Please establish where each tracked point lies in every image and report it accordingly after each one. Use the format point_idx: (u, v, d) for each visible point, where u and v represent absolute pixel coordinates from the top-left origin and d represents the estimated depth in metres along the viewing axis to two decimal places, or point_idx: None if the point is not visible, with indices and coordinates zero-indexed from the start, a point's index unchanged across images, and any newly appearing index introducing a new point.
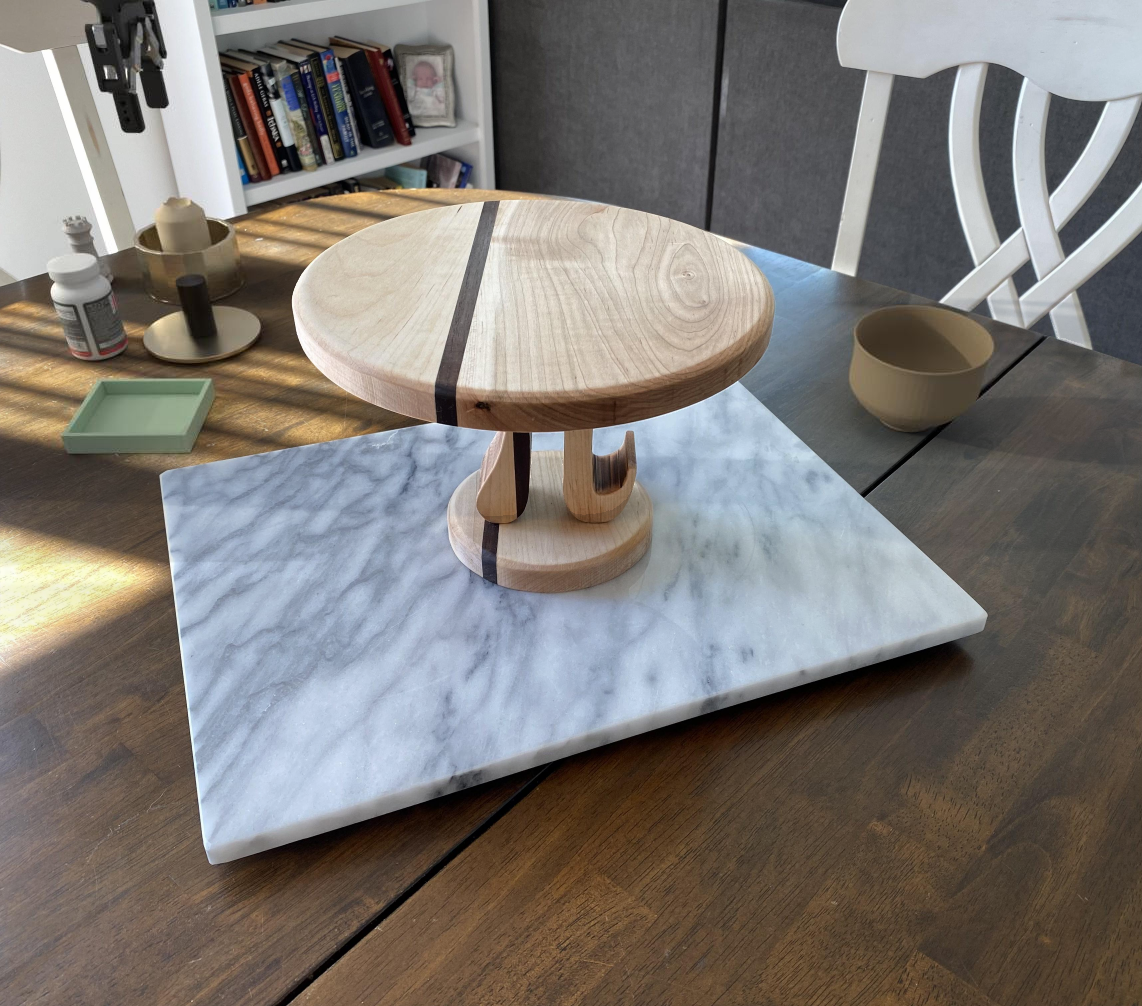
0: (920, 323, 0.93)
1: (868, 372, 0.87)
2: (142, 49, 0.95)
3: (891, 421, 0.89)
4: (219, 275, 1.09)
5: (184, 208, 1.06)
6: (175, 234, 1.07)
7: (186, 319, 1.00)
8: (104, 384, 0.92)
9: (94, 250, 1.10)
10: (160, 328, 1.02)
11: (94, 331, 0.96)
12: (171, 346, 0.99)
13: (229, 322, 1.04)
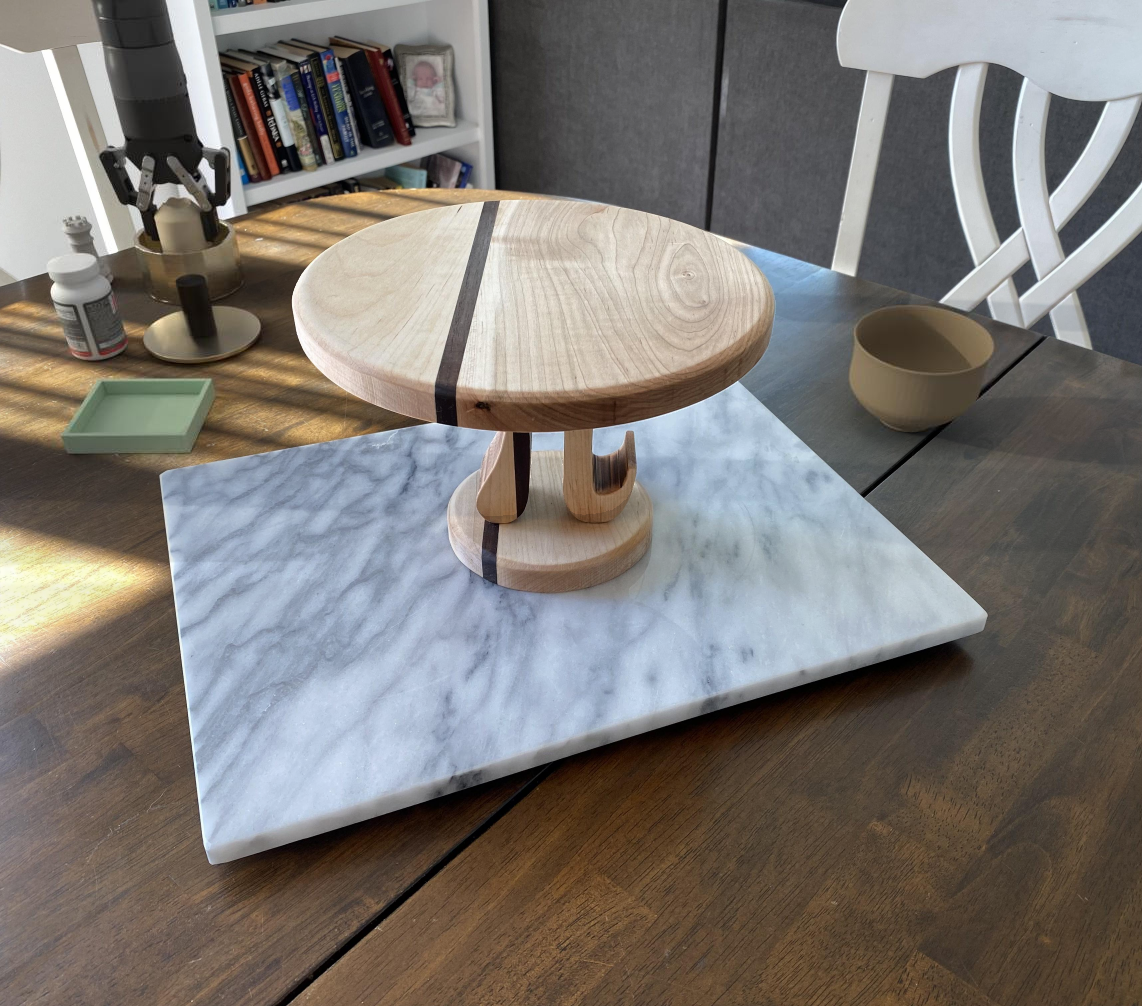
0: (920, 323, 0.93)
1: (868, 372, 0.87)
2: None
3: (891, 421, 0.89)
4: (219, 275, 1.09)
5: (184, 208, 1.06)
6: (175, 234, 1.07)
7: (186, 319, 1.00)
8: (104, 384, 0.92)
9: (94, 250, 1.10)
10: (160, 328, 1.02)
11: (94, 331, 0.96)
12: (171, 346, 0.99)
13: (229, 322, 1.04)
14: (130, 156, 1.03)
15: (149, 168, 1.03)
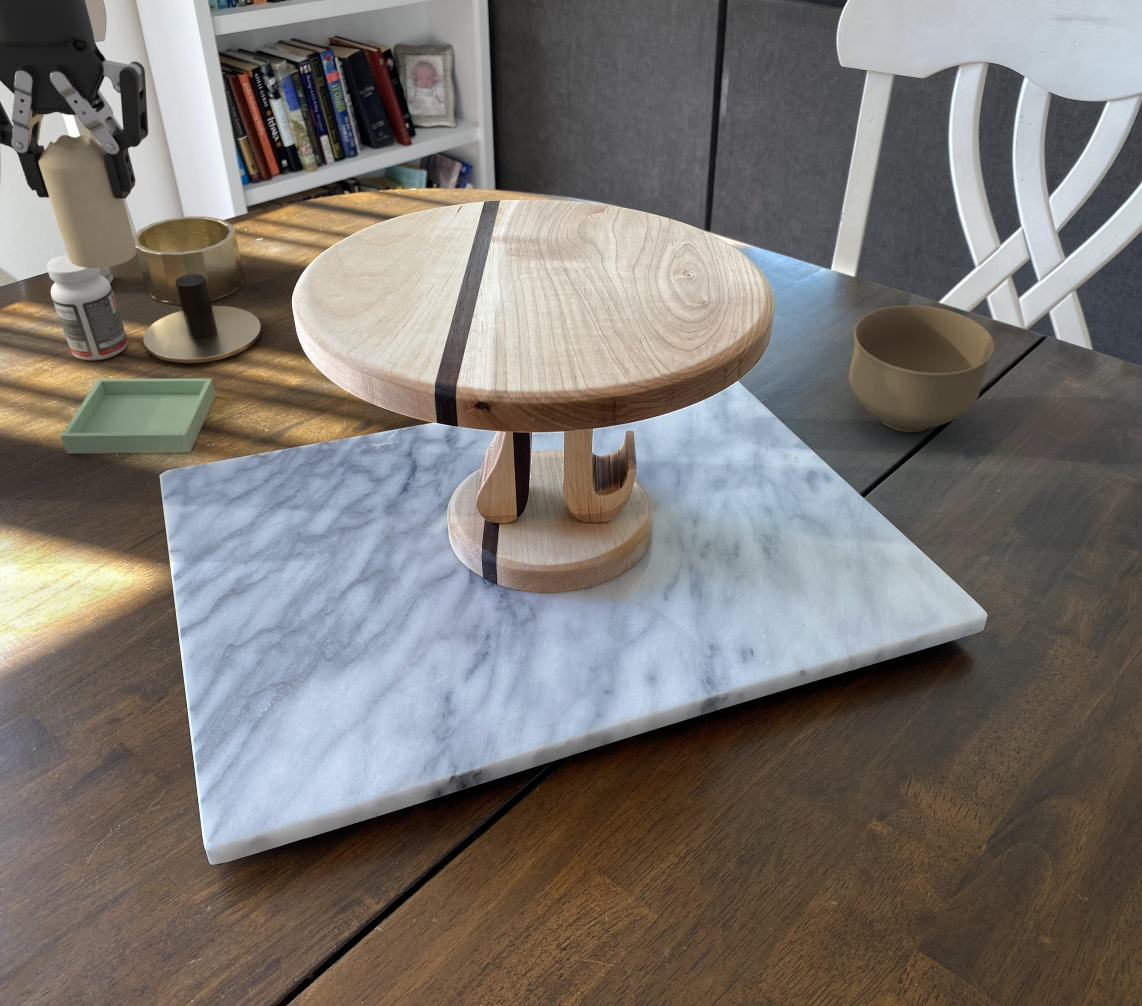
0: (920, 323, 0.93)
1: (868, 372, 0.87)
2: None
3: (891, 421, 0.89)
4: (219, 275, 1.09)
5: (80, 149, 0.75)
6: (68, 186, 0.75)
7: (186, 319, 1.00)
8: (104, 384, 0.92)
9: None
10: (160, 328, 1.02)
11: (94, 331, 0.96)
12: (171, 346, 0.99)
13: (229, 322, 1.04)
14: None
15: (25, 89, 0.72)
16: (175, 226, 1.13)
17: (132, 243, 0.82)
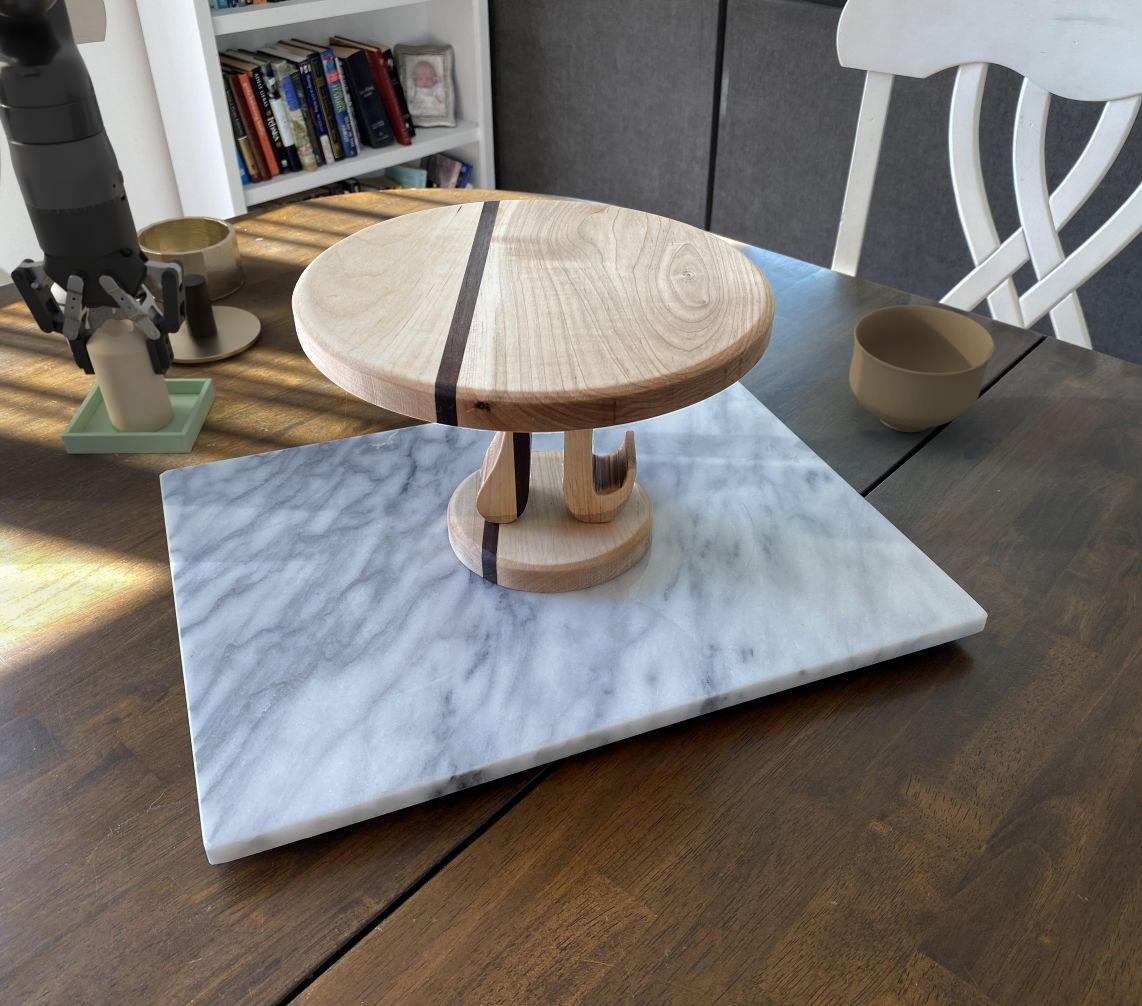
0: (920, 323, 0.93)
1: (868, 372, 0.87)
2: None
3: (891, 421, 0.89)
4: (219, 275, 1.09)
5: (124, 336, 0.83)
6: (113, 368, 0.83)
7: (186, 319, 1.00)
8: None
9: None
10: None
11: (94, 331, 0.96)
12: None
13: (229, 322, 1.04)
14: (52, 275, 0.79)
15: (76, 290, 0.79)
16: (175, 226, 1.13)
17: (170, 408, 0.89)
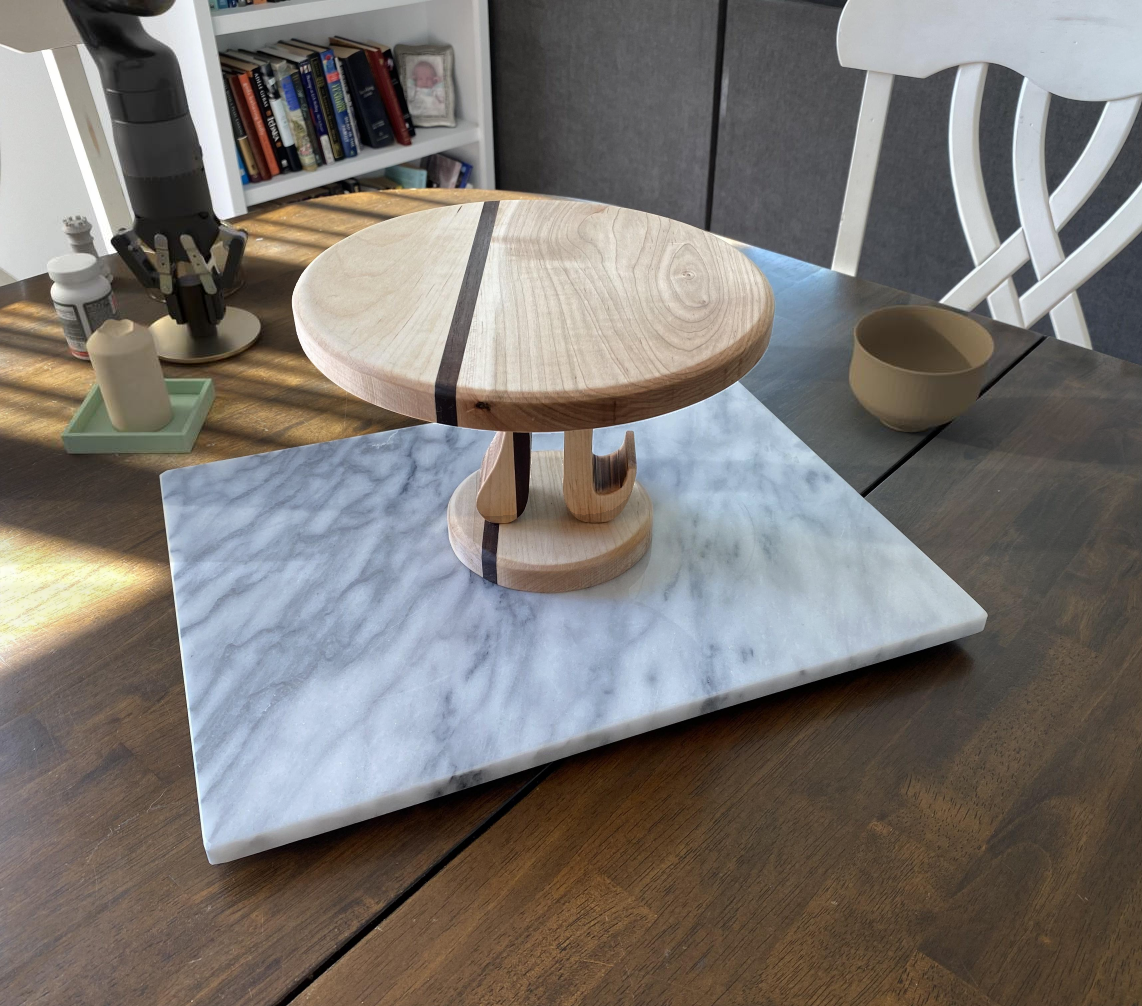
0: (920, 323, 0.93)
1: (868, 372, 0.87)
2: None
3: (891, 421, 0.89)
4: None
5: (124, 336, 0.83)
6: (113, 369, 0.83)
7: (186, 319, 1.00)
8: None
9: (94, 250, 1.10)
10: (160, 328, 1.02)
11: (94, 331, 0.96)
12: (171, 346, 0.99)
13: (229, 322, 1.04)
14: (140, 234, 0.94)
15: (163, 247, 0.94)
16: None
17: (170, 408, 0.89)
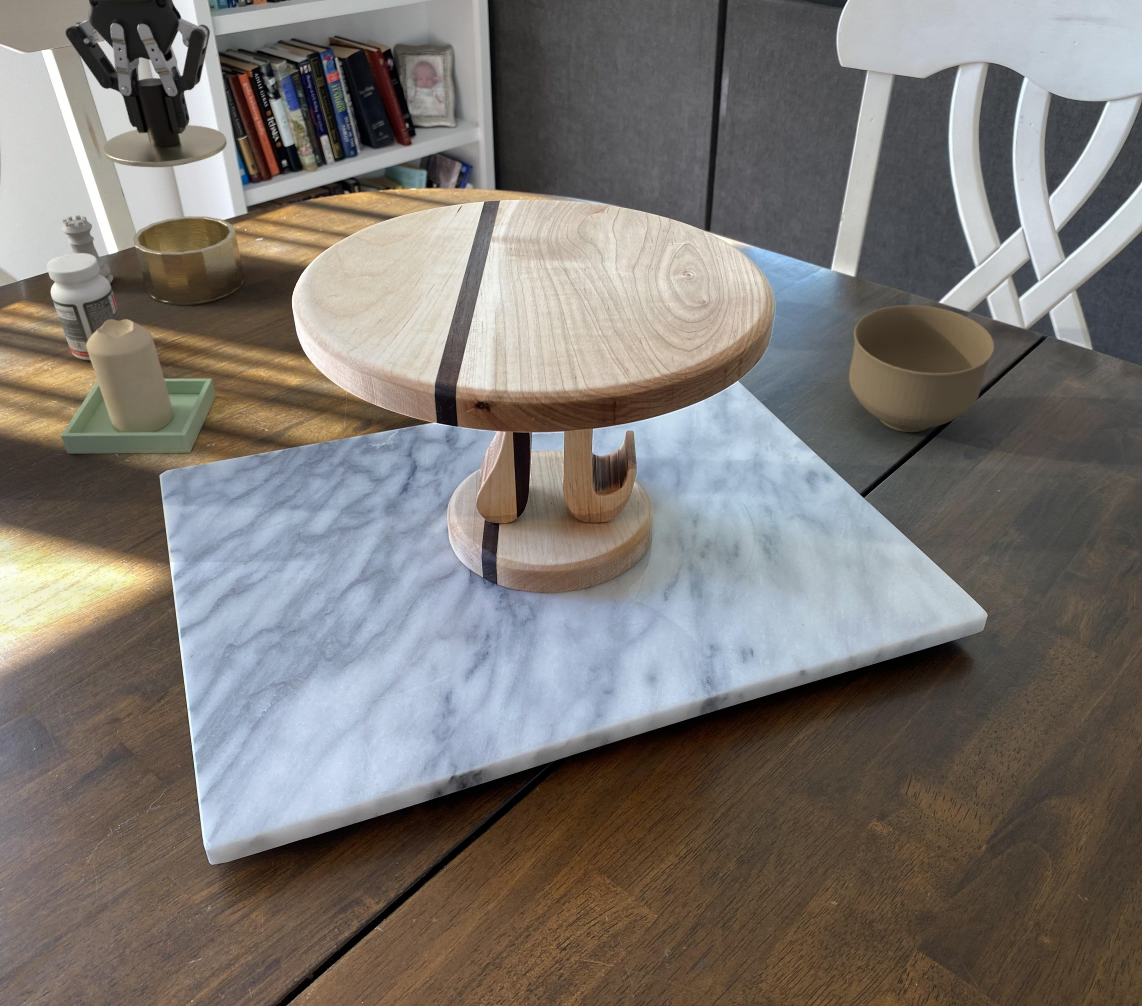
0: (920, 323, 0.93)
1: (868, 372, 0.87)
2: None
3: (891, 421, 0.89)
4: (219, 275, 1.09)
5: (124, 336, 0.83)
6: (113, 369, 0.83)
7: (147, 126, 0.96)
8: None
9: (94, 250, 1.10)
10: (122, 140, 0.99)
11: (94, 331, 0.96)
12: (131, 153, 0.95)
13: (194, 136, 1.00)
14: (96, 24, 0.90)
15: (119, 38, 0.90)
16: (175, 226, 1.13)
17: (170, 408, 0.89)
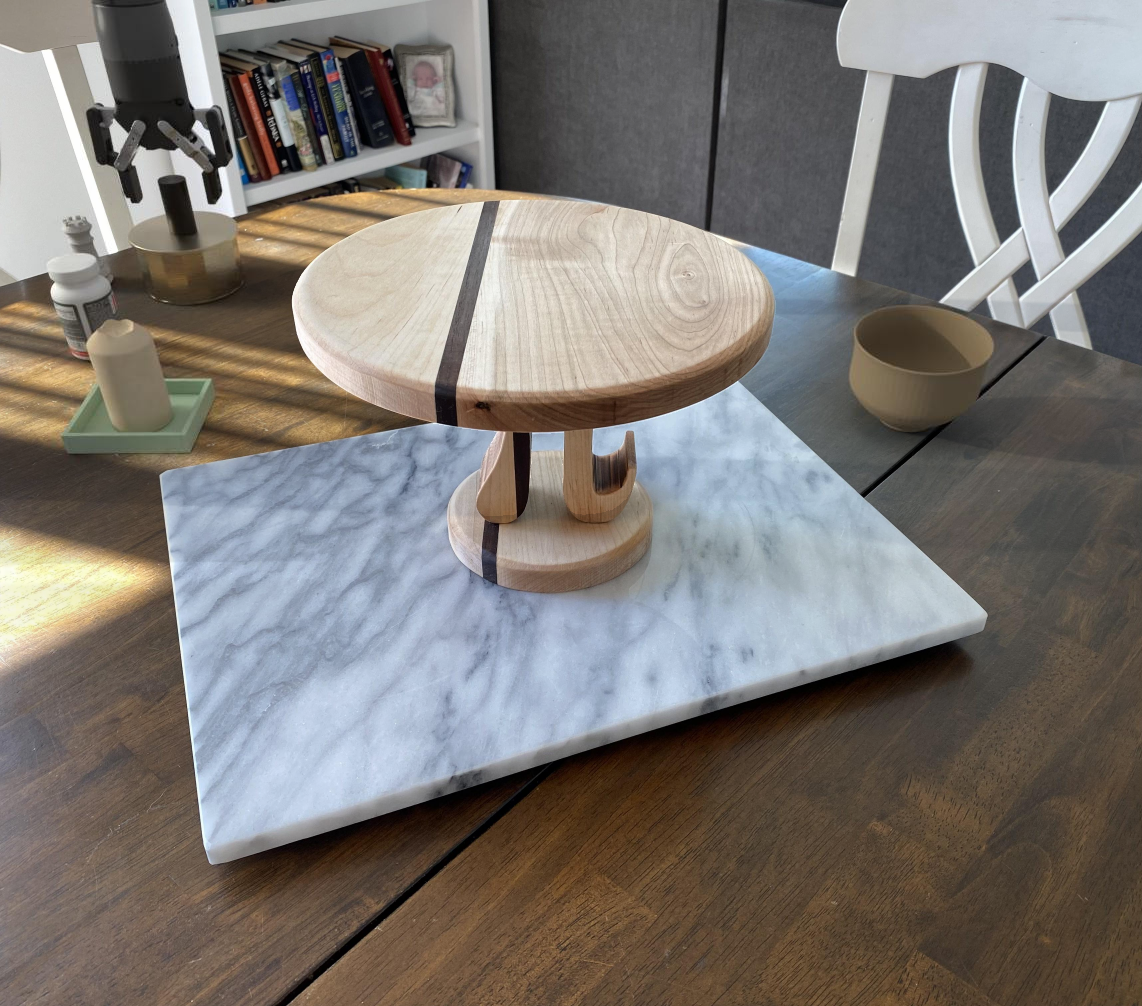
0: (920, 323, 0.93)
1: (868, 372, 0.87)
2: None
3: (891, 421, 0.89)
4: (219, 275, 1.09)
5: (124, 336, 0.83)
6: (113, 369, 0.83)
7: (168, 217, 1.07)
8: None
9: (94, 250, 1.10)
10: (144, 228, 1.09)
11: (94, 331, 0.96)
12: (153, 242, 1.06)
13: (209, 223, 1.11)
14: (120, 120, 1.00)
15: (138, 132, 1.00)
16: None
17: (170, 408, 0.89)
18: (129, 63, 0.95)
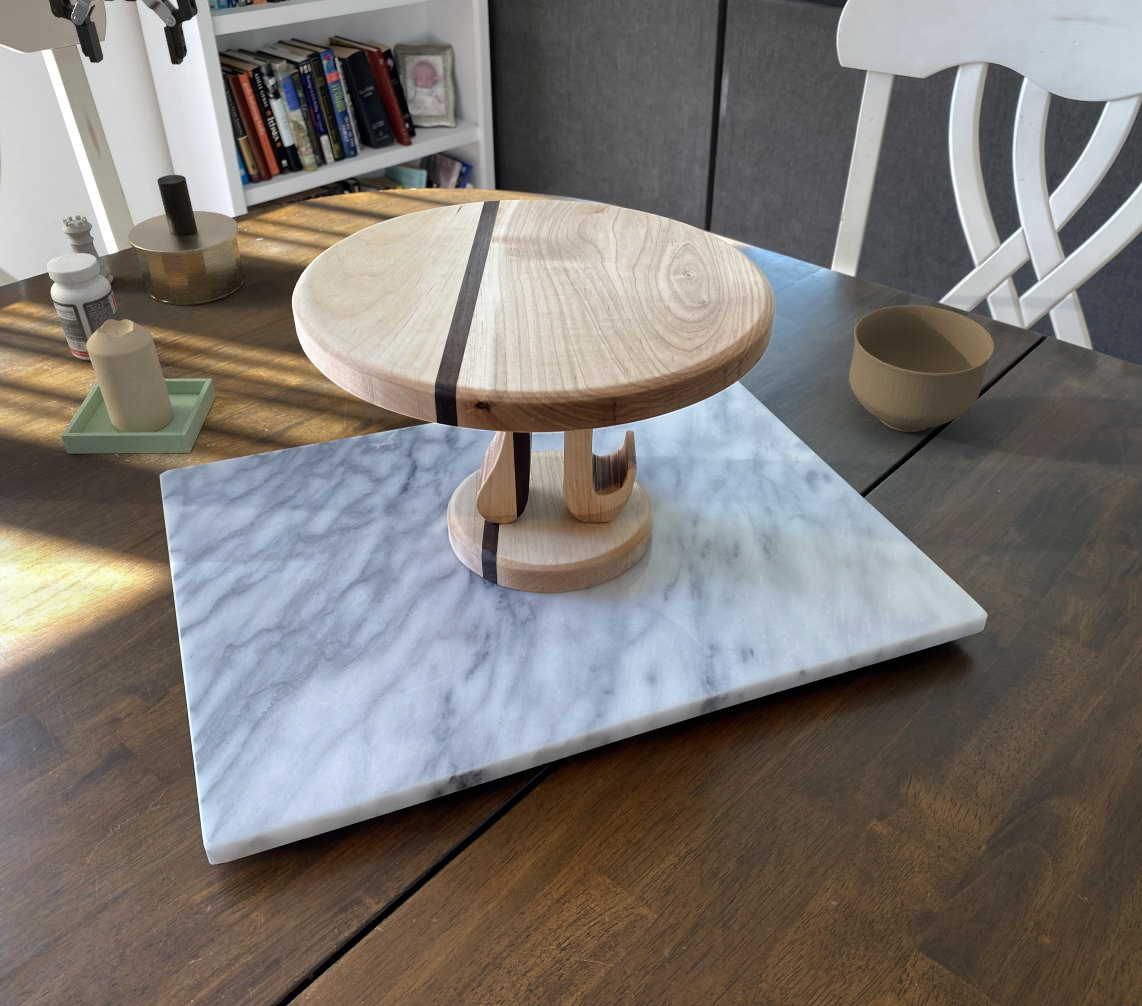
0: (920, 323, 0.93)
1: (868, 372, 0.87)
2: None
3: (891, 421, 0.89)
4: (219, 275, 1.09)
5: (124, 336, 0.83)
6: (113, 369, 0.83)
7: (168, 217, 1.07)
8: None
9: (94, 250, 1.10)
10: (144, 228, 1.09)
11: (94, 331, 0.96)
12: (153, 242, 1.06)
13: (209, 223, 1.11)
14: None
15: None
16: None
17: (170, 408, 0.89)
18: None
